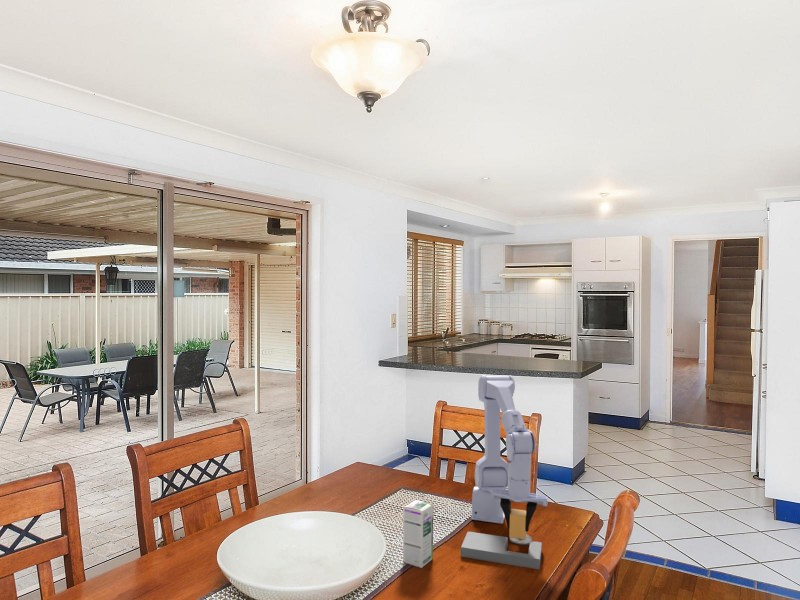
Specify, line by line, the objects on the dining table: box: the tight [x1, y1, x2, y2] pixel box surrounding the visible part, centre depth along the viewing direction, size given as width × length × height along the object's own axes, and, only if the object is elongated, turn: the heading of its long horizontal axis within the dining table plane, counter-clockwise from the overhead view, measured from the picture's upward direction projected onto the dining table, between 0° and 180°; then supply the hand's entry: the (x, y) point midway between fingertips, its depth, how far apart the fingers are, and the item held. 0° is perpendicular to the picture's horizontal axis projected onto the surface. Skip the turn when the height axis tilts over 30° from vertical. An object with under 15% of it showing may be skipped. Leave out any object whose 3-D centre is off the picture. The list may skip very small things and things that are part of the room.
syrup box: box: [402, 499, 434, 569], centre depth 145 cm, size 6×6×14 cm
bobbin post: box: [509, 533, 533, 546], centre depth 158 cm, size 6×6×7 cm
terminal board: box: [460, 531, 543, 570], centre depth 150 cm, size 20×10×2 cm, turn 73°
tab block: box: [508, 508, 527, 539], centre depth 149 cm, size 4×4×6 cm
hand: (517, 528), depth 149 cm, fingers closed on tab block, 4 cm apart
